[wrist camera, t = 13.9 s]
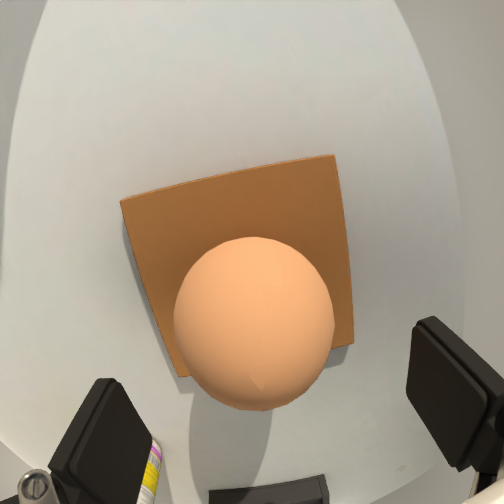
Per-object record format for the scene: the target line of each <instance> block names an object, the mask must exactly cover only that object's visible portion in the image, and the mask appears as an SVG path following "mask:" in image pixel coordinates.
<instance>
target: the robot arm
mask: <svg viewBox="0 0 504 504" xmlns="http://www.w3.org/2000/svg"><path fill="white" fill-rule="evenodd" d="M406 394H407V397H408V399H409V400H410V402H411V404H412V405H413V407H414V408H415V410H416V411H417V413H418V415H419V416H420V418H421V419H422V421H423V422H424V424H425V426H426V427H427V429H428V430H429V432H430V434H431V435H432V437H433V439H434V440H435V442H436V443H437V445H438V447H439V448H440V450H441V452H442V453H443V455H444V457H445V458H446V460H447V462H448V464H450V466H451V467H456V468H457V470H458V472H461V471H463V470H464V469H466V468H468V467H470V466H471V465H472V466H473V468H474V469H475V471H476V472H475V476H474V480H473V485H472V488H471V491H470V495H469V499H468V500H466V501H464V502H462V503H461V504H504V379H503V378H502V377H501V376H500V375H499V374H498V373H497V372H496V371H495V370H494V369H493V368H492V367H491V366H490V365H489V364H487V362H485V361H484V360H483V359H482V358H481V357H480V356H479V355H478V354H477V353H476V352H475V351H474V350H473V349H471V348H470V347H469V346H468V345H467V344H466V343H465V342H464V341H463V340H462V339H461V338H459V337H458V336H457V335H456V334H455V333H454V332H453V331H452V330H450V329H449V328H448V327H447V326H446V325H445V324H444V323H443V322H441V321H440V320H439V319H438V318H437V317H435V316H430V317H428V318H425V319H422V320H419V321H418V322H417V323H416V326H415V327H413V329H412V339H411V350H410V360H409V369H408V377H407V384H406ZM152 443H153V440H152V436H151V434H150V432H149V431H148V429H147V428H146V426H145V424H144V423H143V421H142V419H141V418H140V416H139V414H138V413H137V411H136V409H135V408H134V406H133V404H132V402H131V401H130V399H129V397H128V395H127V393H126V392H125V390H124V388H123V386H122V385H121V383H119V382H117V381H116V380H115V379H114V378H99V379H97V380H96V381H95V383H94V385H93V386H92V388H91V389H90V391H89V393H88V395H87V396H86V398H85V400H84V401H83V403H82V405H81V406H80V408H79V410H78V412H77V413H76V415H75V417H74V419H73V420H72V422H71V424H70V426H69V427H68V429H67V431H66V433H65V435H64V436H63V438H62V440H61V442H60V444H59V446H58V447H57V449H56V451H55V453H54V455H53V457H52V459H51V461H50V462H49V464H48V466H47V467H48V468H49V469H50V470H51V471H52V472H51V474H49V473H47V472H46V471H44V470H42V469H35V470H31V471H29V472H27V473H26V474H25V475H23V476H22V478H21V479H20V481H19V483H18V495H15V496H13V497H11V498H8V499H5V500H3V501H1V502H0V504H137V501H138V497H139V493H140V489H141V485H142V481H143V477H144V474H145V470H146V466H147V462H148V459H149V455H150V451H151V448H152Z"/></svg>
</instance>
